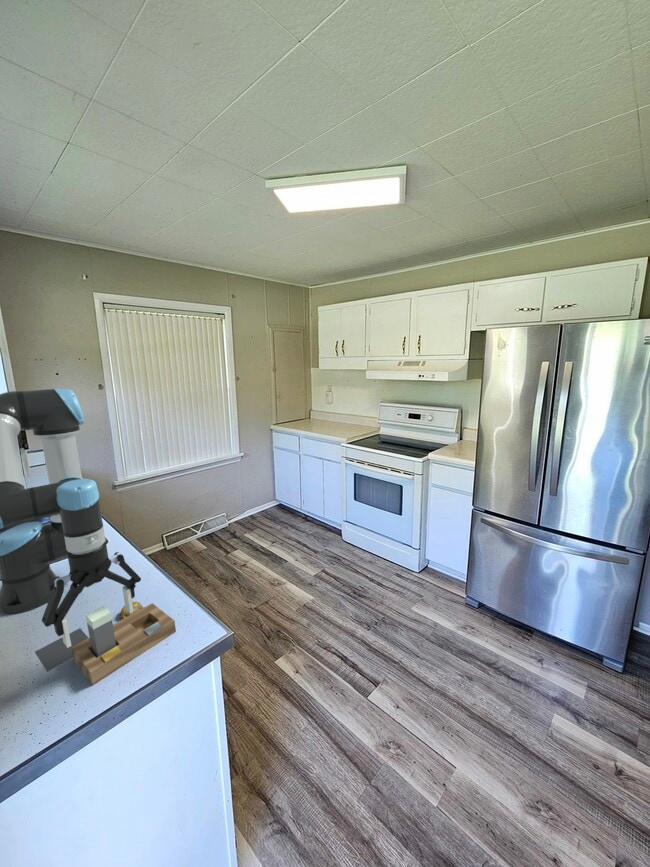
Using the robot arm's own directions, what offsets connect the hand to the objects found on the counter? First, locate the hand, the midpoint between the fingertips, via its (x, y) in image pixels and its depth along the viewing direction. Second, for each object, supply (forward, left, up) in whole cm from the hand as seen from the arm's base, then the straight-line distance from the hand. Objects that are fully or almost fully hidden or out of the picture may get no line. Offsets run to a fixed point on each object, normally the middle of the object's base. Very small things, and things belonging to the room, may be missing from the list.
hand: (100, 626), depth 86 cm
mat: (-12, -5, -9) cm, 16 cm away
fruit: (-9, +11, -10) cm, 17 cm away
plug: (0, 0, -8) cm, 8 cm away
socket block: (0, +5, -9) cm, 10 cm away
